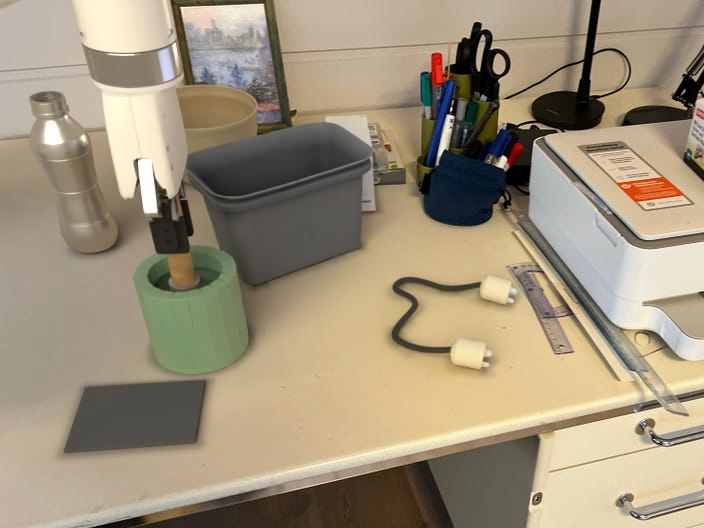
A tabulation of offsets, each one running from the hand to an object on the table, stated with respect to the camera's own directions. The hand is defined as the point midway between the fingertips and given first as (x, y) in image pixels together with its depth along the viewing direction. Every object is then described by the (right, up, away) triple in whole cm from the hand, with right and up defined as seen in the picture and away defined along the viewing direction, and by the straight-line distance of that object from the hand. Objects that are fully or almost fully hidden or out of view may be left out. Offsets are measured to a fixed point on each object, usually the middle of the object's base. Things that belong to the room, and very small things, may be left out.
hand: (175, 242), depth 77 cm
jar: (0, -10, +9) cm, 13 cm away
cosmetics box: (+12, +13, +37) cm, 41 cm away
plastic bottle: (-20, +3, +23) cm, 30 cm away
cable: (+27, -8, +14) cm, 31 cm away
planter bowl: (-10, +17, +40) cm, 44 cm away
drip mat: (-4, -18, 0) cm, 18 cm away
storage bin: (+5, +3, +25) cm, 25 cm away
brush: (-1, -8, +7) cm, 11 cm away
